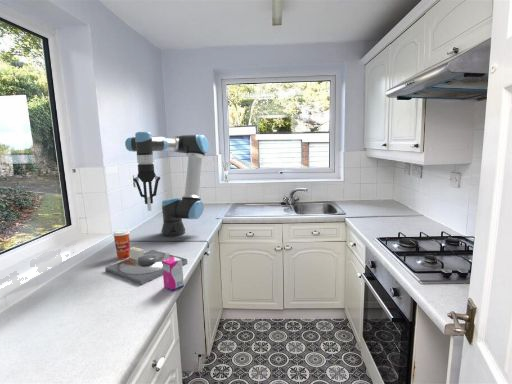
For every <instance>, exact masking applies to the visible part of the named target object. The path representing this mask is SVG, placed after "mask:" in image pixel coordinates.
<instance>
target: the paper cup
mask: <svg viewBox="0 0 512 384" xmlns="http://www.w3.org/2000/svg"><path fill="white" fill-rule="evenodd" d="M130 233H131V232H130V231H129V229H125V228H124V229H117V230H115V231H113V234H112V235H113V237H114V238H113V239H114V244H115V249H116V256H117V259H118V260H127V259H129V257H130Z"/></svg>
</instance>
